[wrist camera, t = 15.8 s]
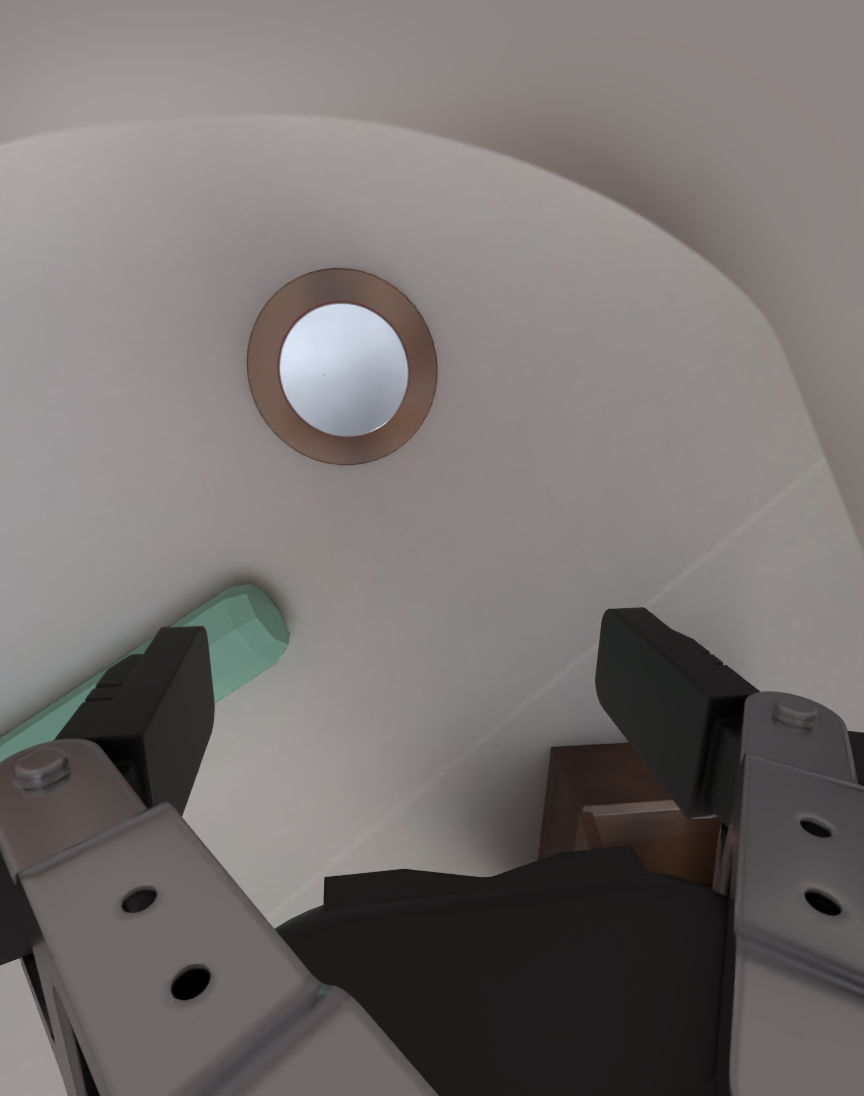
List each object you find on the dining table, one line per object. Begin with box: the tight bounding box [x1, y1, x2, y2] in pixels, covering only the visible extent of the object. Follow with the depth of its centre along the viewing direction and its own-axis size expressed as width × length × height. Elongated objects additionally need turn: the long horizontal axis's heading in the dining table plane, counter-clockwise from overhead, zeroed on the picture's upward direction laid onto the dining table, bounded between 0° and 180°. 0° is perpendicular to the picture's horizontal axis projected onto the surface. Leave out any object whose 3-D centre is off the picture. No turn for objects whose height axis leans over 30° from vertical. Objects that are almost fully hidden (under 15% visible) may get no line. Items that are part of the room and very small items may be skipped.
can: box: [277, 301, 410, 438], centre depth 27 cm, size 5×5×9 cm
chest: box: [538, 743, 721, 889], centre depth 42 cm, size 16×14×6 cm
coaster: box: [247, 268, 437, 465], centre depth 32 cm, size 10×10×1 cm
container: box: [0, 584, 290, 762], centre depth 33 cm, size 6×6×25 cm
